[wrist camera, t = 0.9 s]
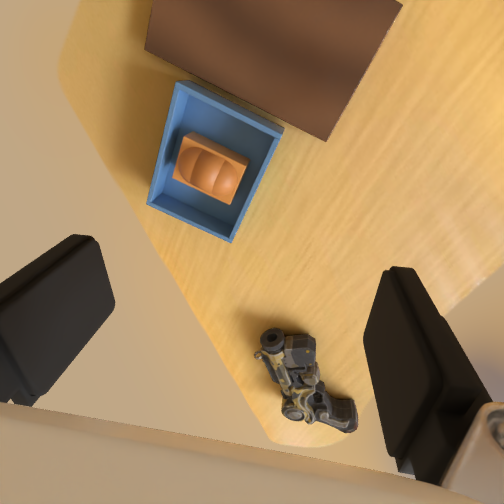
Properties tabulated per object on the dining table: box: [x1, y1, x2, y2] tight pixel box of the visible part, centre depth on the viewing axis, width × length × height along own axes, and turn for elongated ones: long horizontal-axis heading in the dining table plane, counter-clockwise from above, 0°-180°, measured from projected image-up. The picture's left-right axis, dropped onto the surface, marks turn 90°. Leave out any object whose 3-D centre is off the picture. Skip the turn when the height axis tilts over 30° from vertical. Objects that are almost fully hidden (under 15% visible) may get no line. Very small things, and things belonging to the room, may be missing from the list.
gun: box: [254, 328, 358, 433], centre depth 55 cm, size 5×26×15 cm
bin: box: [146, 80, 285, 243], centre depth 36 cm, size 15×12×4 cm
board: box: [145, 0, 403, 142], centre depth 29 cm, size 13×22×2 cm, turn 66°
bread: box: [172, 131, 250, 205], centre depth 36 cm, size 5×8×5 cm
